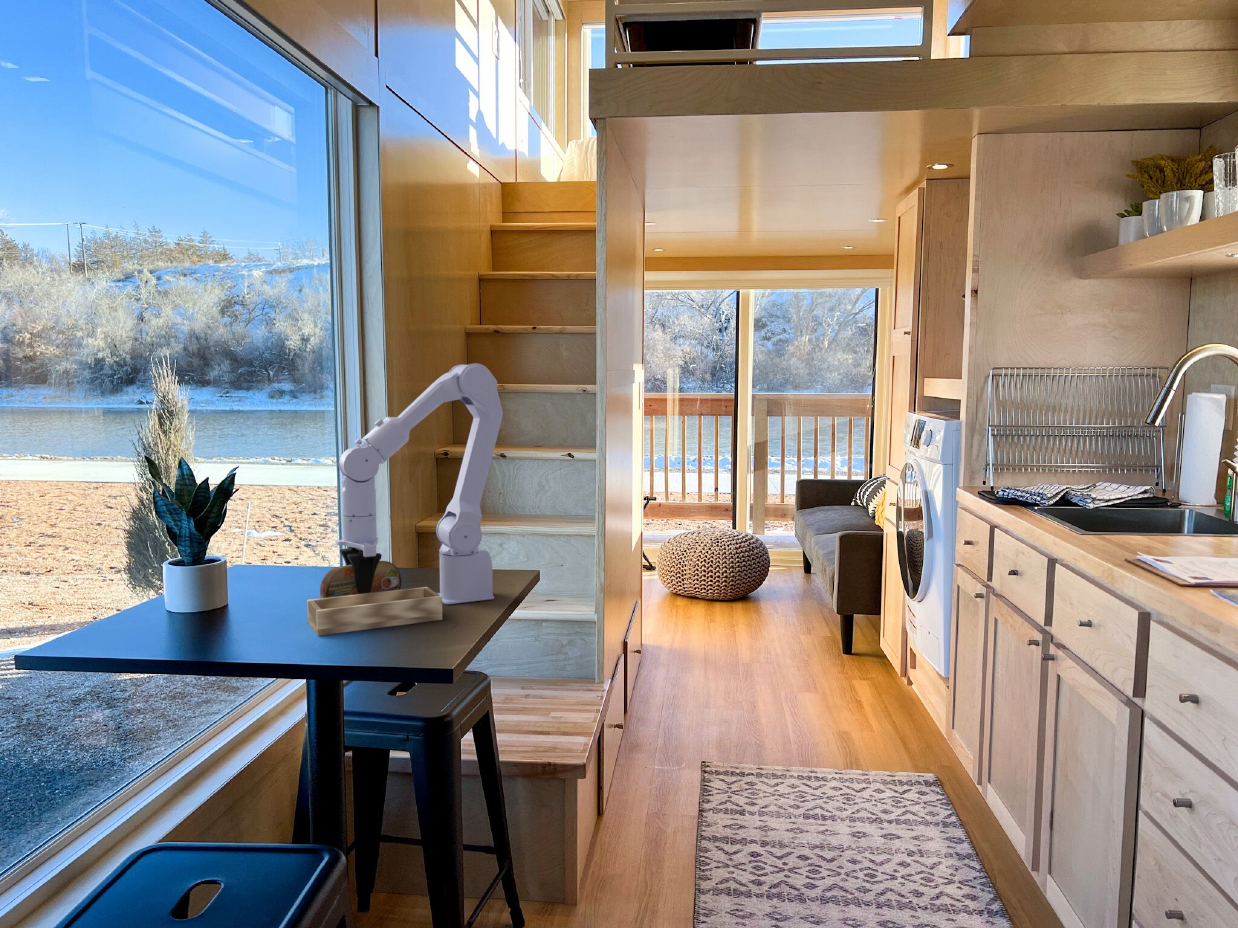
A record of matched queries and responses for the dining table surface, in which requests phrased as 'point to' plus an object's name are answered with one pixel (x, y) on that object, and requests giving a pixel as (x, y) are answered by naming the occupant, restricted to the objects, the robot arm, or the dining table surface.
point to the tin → (344, 582)
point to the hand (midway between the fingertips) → (361, 589)
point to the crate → (373, 610)
